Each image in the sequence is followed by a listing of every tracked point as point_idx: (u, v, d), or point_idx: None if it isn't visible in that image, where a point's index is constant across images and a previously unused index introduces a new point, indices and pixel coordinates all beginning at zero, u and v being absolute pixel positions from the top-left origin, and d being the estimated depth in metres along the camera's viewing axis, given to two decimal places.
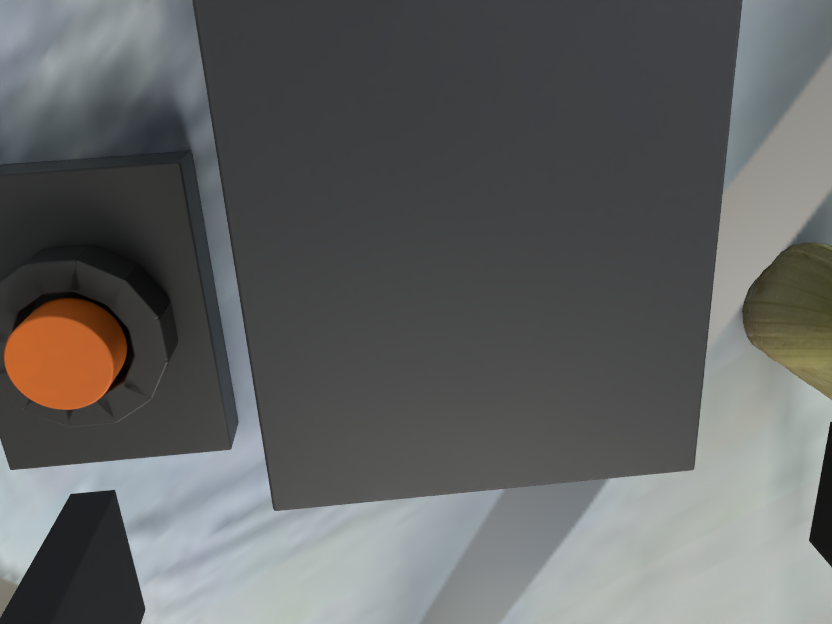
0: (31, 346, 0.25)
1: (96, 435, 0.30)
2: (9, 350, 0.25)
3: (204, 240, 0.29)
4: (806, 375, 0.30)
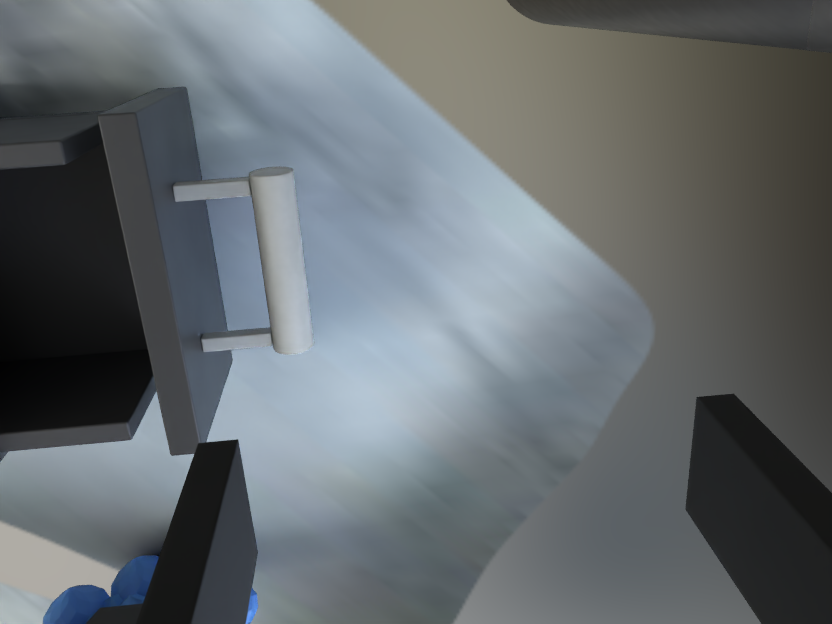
0: None
1: None
2: None
3: None
4: None
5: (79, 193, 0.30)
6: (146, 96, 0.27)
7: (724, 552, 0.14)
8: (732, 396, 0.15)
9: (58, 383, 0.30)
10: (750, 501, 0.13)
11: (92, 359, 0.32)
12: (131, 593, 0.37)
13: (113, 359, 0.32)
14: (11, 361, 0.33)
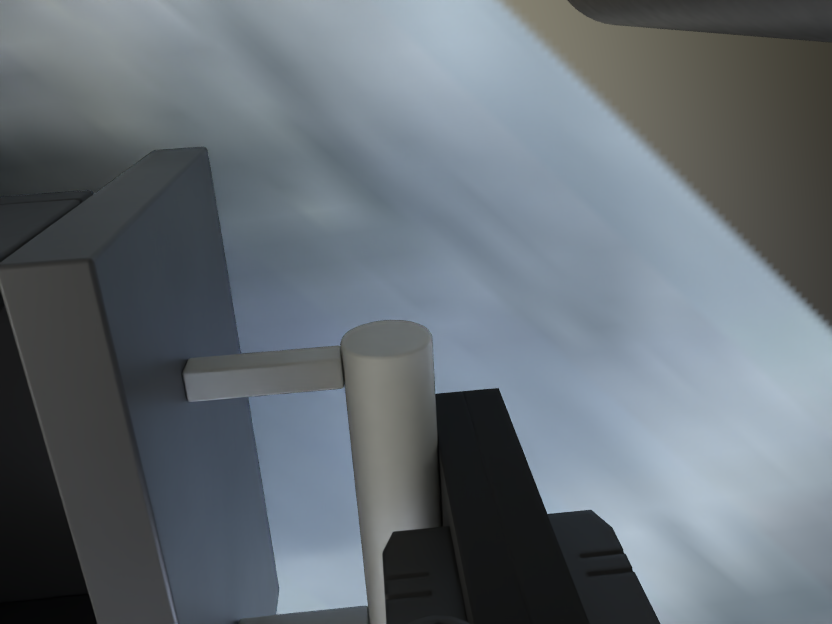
0: None
1: None
2: None
3: None
4: None
5: (9, 342, 0.16)
6: (129, 179, 0.13)
7: None
8: (497, 391, 0.16)
9: None
10: None
11: (39, 616, 0.18)
12: None
13: (75, 619, 0.18)
14: None
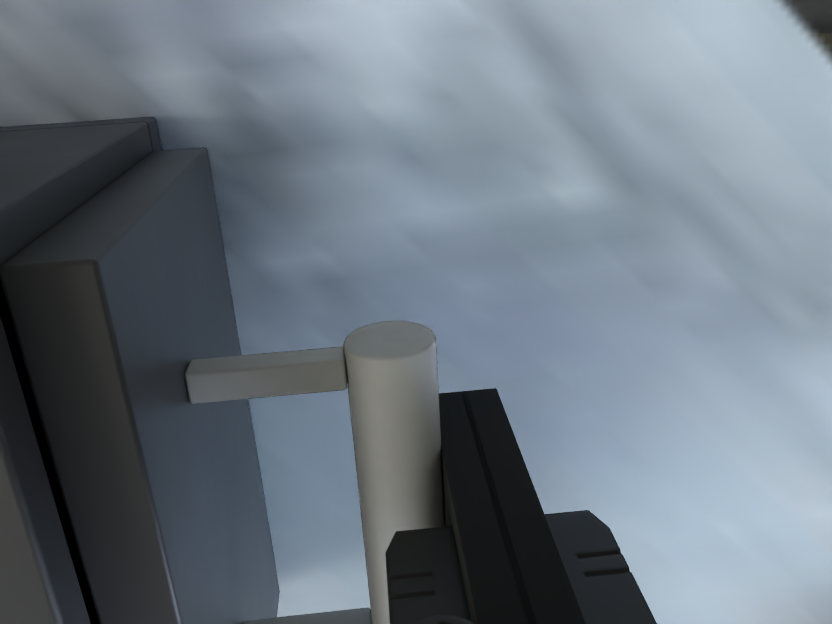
0: None
1: None
2: None
3: None
4: None
5: None
6: (130, 180, 0.13)
7: None
8: (495, 391, 0.16)
9: None
10: None
11: None
12: None
13: None
14: None
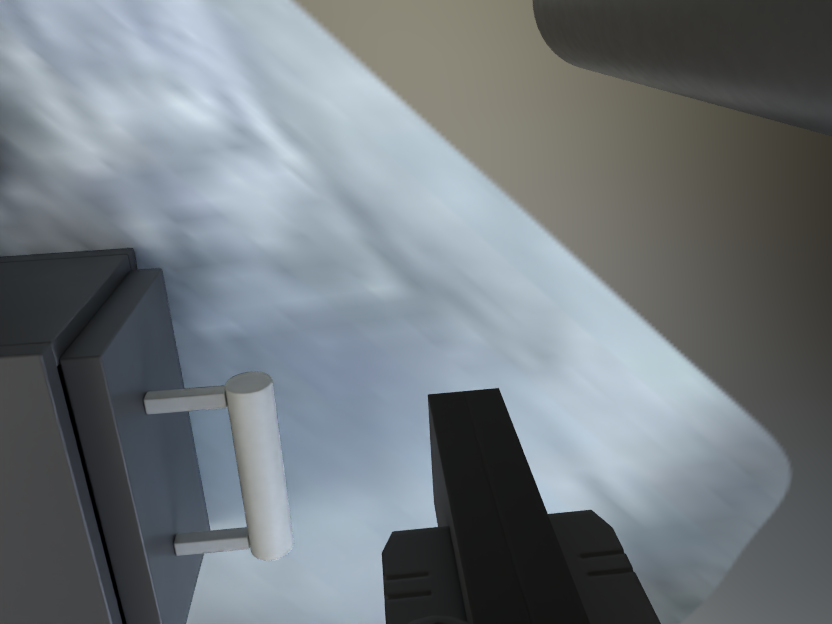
0: None
1: None
2: None
3: None
4: None
5: None
6: (117, 298, 0.26)
7: None
8: (497, 391, 0.16)
9: None
10: None
11: None
12: None
13: None
14: None
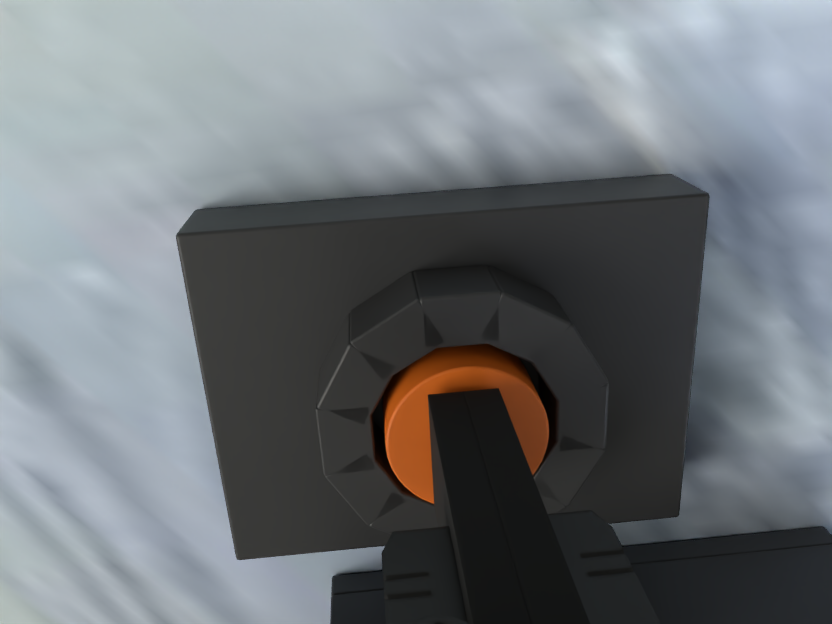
0: None
1: (256, 381, 0.18)
2: (497, 378, 0.16)
3: None
4: None
5: None
6: None
7: None
8: (497, 390, 0.16)
9: None
10: None
11: None
12: None
13: None
14: None
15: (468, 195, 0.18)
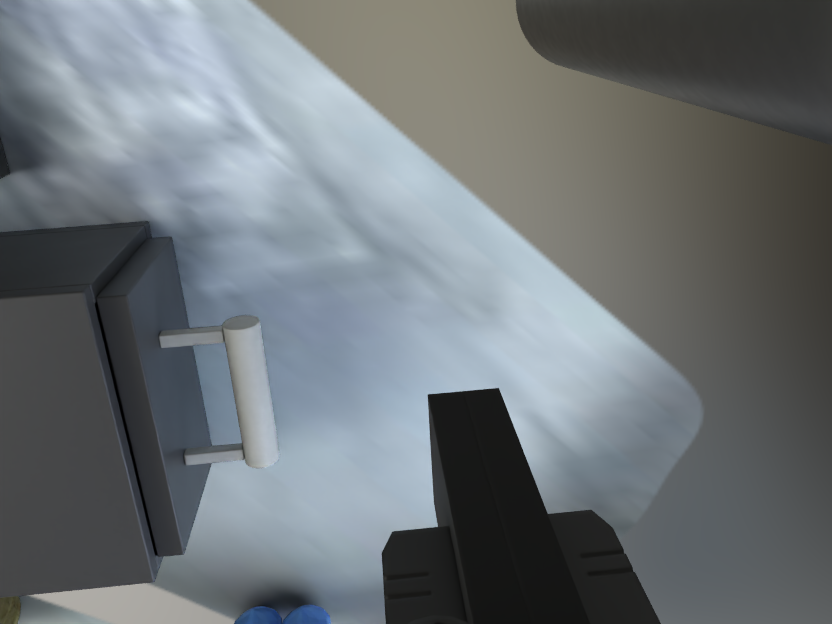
0: None
1: None
2: None
3: None
4: None
5: None
6: (137, 257, 0.33)
7: None
8: (498, 390, 0.16)
9: None
10: None
11: None
12: None
13: None
14: None
15: None
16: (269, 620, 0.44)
